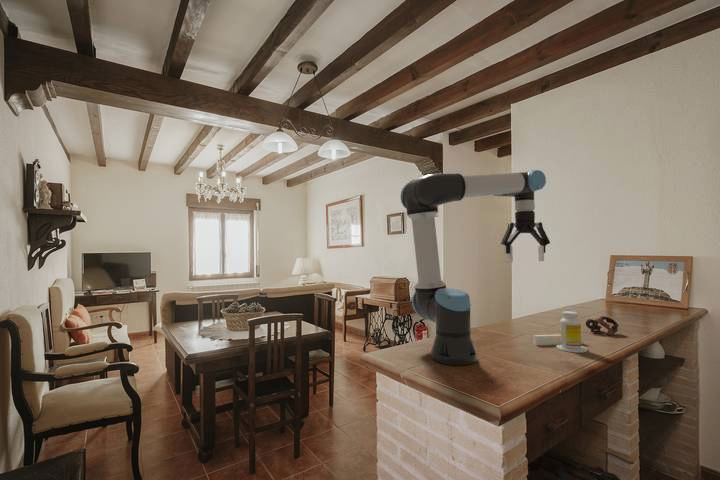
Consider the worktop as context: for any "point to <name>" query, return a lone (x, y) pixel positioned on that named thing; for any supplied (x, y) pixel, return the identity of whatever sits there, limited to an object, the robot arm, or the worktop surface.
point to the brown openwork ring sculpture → (602, 323)
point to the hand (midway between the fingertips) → (525, 261)
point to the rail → (549, 339)
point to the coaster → (581, 350)
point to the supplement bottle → (570, 330)
